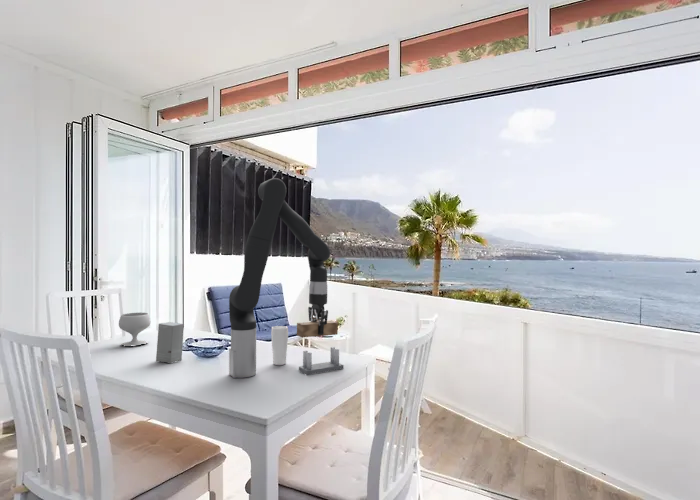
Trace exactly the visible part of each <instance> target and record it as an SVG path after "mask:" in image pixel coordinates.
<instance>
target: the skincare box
mask: <svg viewBox="0 0 700 500" xmlns="http://www.w3.org/2000/svg"><path fill="white" fill-rule="evenodd" d="M157 327H158V329H157V340H156V341H157V343H156V353H155V354H156V356H155V361H156V362H157V361H161V362H160V363H164V362H168V363H167V364H173V363H176V362H175V361H177V362H179V361H178V360H180V361H182V360H183V356H182V355H183V343H184V329H185V328H184V327H185V324H184V323H179V322H173V321H168V322H160V323H158V326H157ZM172 362H173V363H172Z"/></svg>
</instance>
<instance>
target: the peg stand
mask: <svg viewBox="0 0 700 500" xmlns="http://www.w3.org/2000/svg"><path fill="white" fill-rule="evenodd" d="M312 362H313V361H312V352H309V351H308V350H303V351H302V365H300V366H298V371H300V372H301V373H303V374H304V375H306V376H308V375H314V374H320V373H327V372H333V371H339V370H344V366H345V365H344V364H342V363H341V362H340V349H339V348H336V347H335V346H331V347H330V361H328V362H327V361H326V362H320V363H314V364H313V363H312Z"/></svg>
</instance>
